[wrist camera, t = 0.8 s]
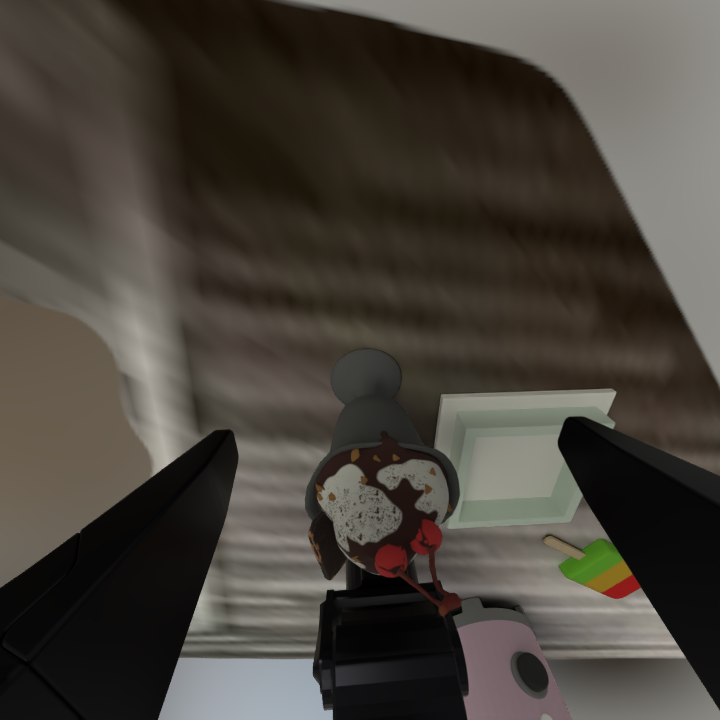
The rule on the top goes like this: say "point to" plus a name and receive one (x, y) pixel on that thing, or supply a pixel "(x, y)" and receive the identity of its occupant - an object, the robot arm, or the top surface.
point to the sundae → (379, 481)
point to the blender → (505, 666)
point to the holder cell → (514, 454)
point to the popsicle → (597, 567)
